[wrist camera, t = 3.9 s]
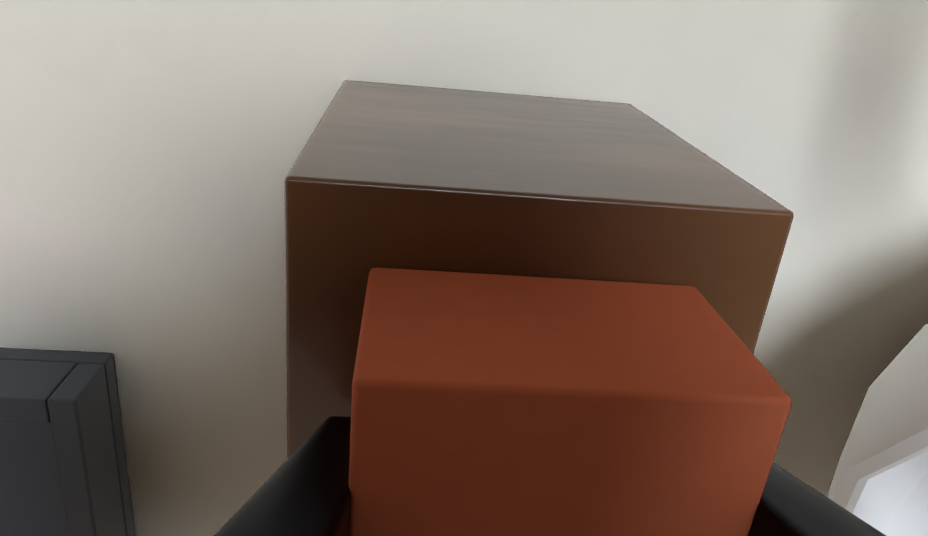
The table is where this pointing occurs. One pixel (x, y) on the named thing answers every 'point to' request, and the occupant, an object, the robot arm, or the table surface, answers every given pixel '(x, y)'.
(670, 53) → the table surface
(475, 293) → the orange square block
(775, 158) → the table surface
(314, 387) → the brown wooden cube
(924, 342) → the cup
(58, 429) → the dark gray square tray
